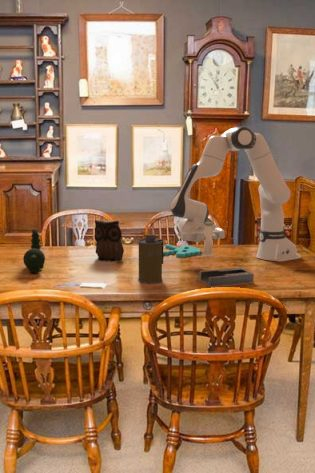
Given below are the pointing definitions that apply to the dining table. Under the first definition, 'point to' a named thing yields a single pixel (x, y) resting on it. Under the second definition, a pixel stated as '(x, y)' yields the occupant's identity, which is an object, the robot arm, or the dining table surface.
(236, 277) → the keyhole track
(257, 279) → the dining table surface
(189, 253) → the alien figure
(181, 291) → the dining table surface
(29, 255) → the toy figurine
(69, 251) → the dining table surface
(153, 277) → the canister
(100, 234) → the owl
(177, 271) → the dining table surface
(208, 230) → the flanged post
